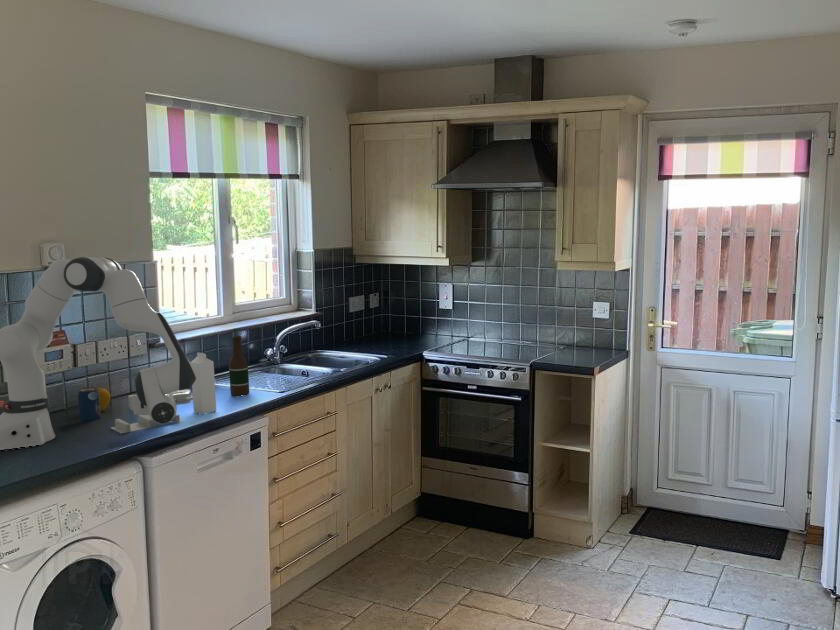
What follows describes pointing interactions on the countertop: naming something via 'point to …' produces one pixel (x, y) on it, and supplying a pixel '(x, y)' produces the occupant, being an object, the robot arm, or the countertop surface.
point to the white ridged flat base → (141, 424)
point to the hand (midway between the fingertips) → (159, 394)
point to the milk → (203, 385)
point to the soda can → (89, 404)
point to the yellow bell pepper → (103, 398)
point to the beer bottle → (238, 370)
